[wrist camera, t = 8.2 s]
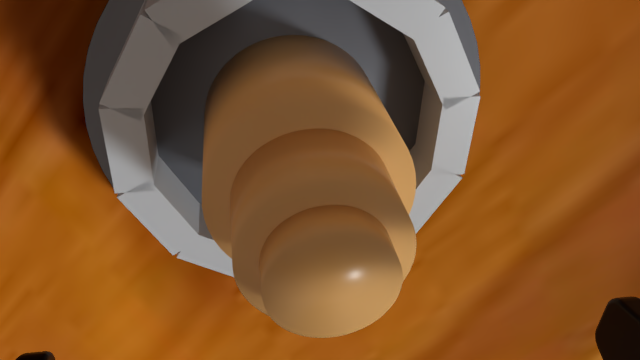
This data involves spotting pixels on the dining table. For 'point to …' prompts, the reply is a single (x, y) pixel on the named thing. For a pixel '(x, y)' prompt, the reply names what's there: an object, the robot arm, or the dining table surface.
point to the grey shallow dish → (223, 44)
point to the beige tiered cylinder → (307, 186)
